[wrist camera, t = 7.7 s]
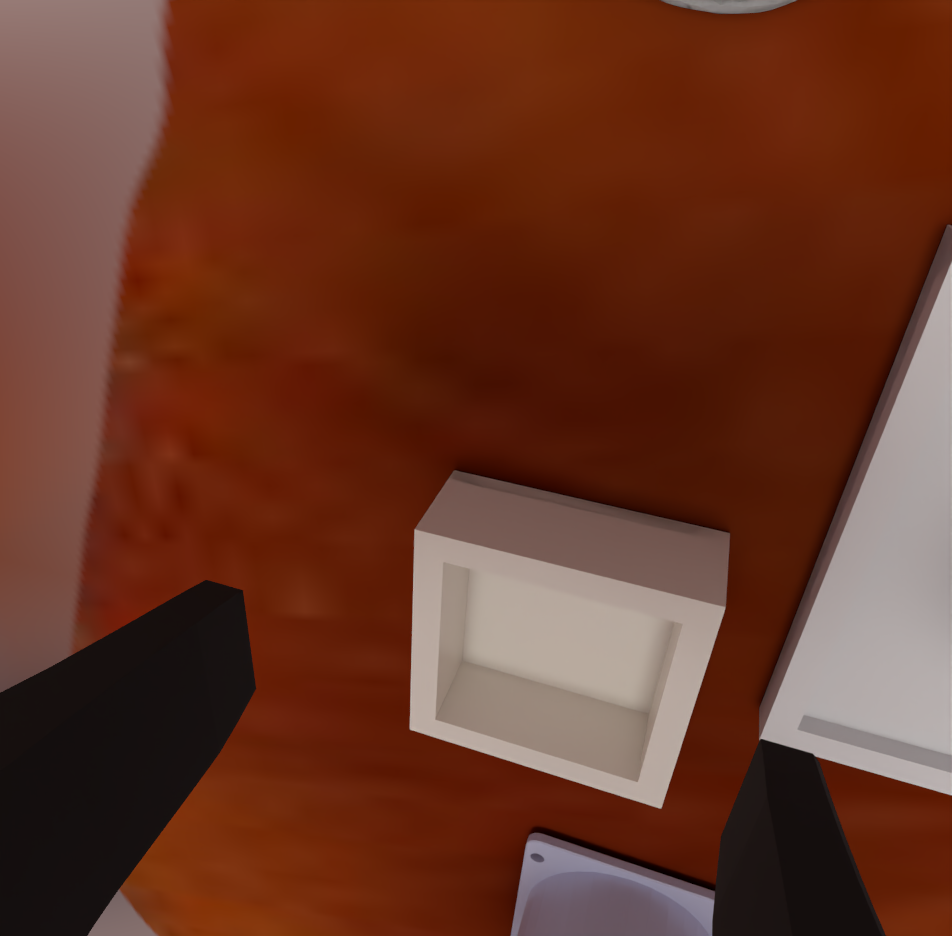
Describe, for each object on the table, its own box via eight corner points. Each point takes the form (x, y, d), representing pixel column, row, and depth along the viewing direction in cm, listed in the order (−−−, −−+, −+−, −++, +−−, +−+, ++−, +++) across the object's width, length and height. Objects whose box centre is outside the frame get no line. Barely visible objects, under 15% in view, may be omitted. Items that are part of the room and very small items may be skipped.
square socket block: (671, 726, 24) (661, 809, 21) (443, 660, 25) (409, 729, 23) (730, 533, 20) (725, 607, 17) (454, 470, 21) (414, 529, 19)
